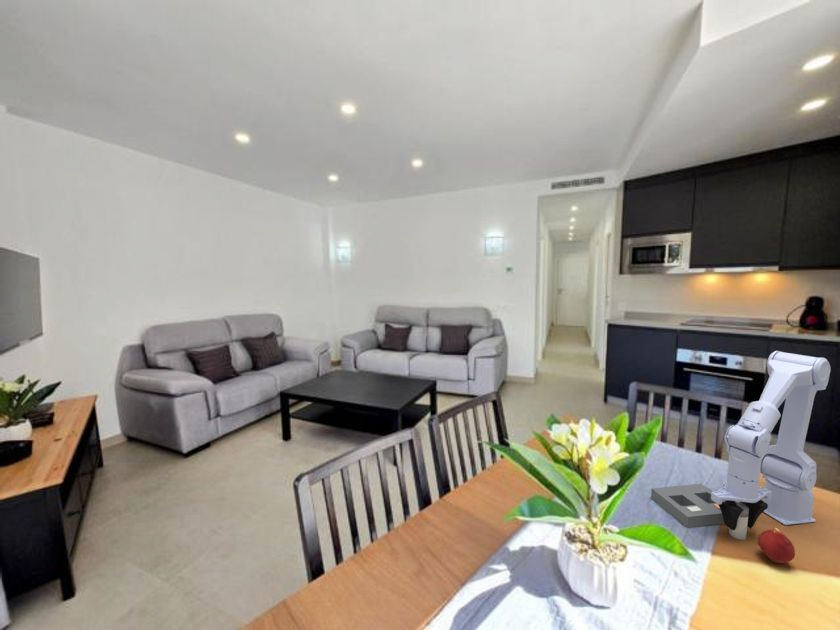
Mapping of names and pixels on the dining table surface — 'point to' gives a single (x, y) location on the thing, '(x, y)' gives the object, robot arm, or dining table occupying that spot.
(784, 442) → the robot arm
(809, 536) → the dining table surface
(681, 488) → the socket panel
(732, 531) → the plug
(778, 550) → the red rounded oval piece
